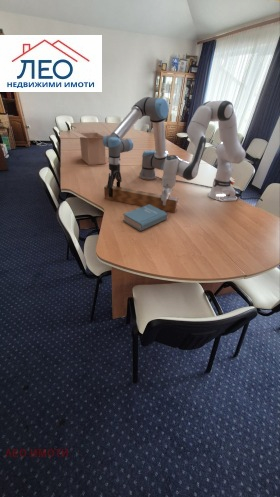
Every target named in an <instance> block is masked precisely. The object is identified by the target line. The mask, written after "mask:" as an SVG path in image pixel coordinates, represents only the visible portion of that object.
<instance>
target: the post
mask: <svg viewBox="0 0 280 497" xmlns="http://www.w3.org/2000/svg"><path fill="white" fill-rule="evenodd" d="M112 188H113V198H112V197H109V188H107V184H106V185H105V186H103V190H104V194H103V195H104V196H103V197H104V199H105V200H109V201H114V202H120V203H124V204H128V205H134V206H139V207H143V206H146V205H148V204H150V205H152V206H154V207H156V208H158V209H160V210H162V211H164V212H167V213H168V212H169V213H174V214H175V213H176V212H177V208H178V201H179V197H176V196H175V197H174V196H171V195H170V196H169V197H168V199H167V201H166V205H163V201H161V195H162V194H159V193H154V192H149V191H143V190H137V189H131V188H127V187H122V186H120V187H116V185H113V186H112Z"/></svg>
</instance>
